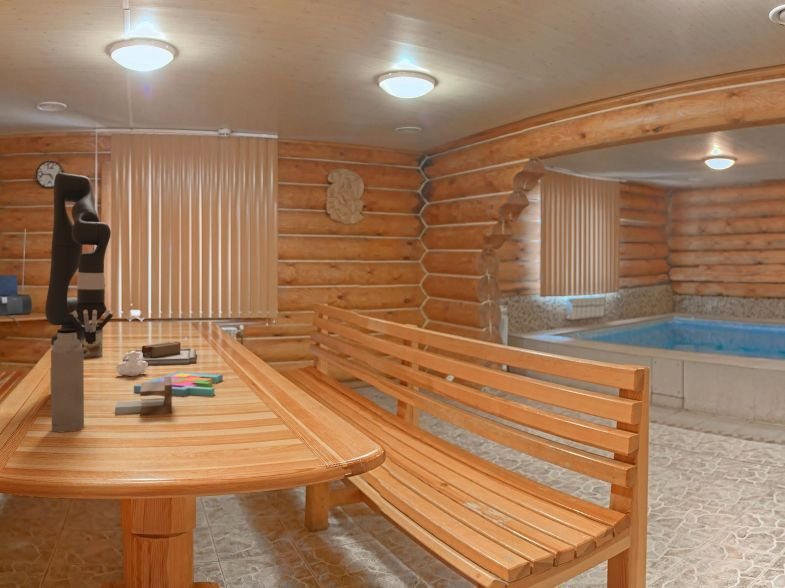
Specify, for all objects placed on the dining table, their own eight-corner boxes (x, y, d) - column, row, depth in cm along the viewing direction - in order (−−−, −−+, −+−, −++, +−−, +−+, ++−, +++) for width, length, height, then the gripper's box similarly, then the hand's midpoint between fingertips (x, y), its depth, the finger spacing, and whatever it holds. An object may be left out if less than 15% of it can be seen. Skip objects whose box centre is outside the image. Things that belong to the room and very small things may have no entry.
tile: (115, 415, 185) (115, 407, 185) (116, 409, 192) (116, 402, 192) (163, 412, 190) (163, 404, 190) (164, 407, 197) (164, 399, 196)
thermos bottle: (46, 428, 169) (45, 328, 167) (76, 422, 175) (75, 326, 173) (58, 434, 164) (57, 331, 162) (89, 428, 170) (88, 329, 168)
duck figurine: (116, 382, 239) (119, 362, 233) (113, 368, 244) (116, 348, 237) (148, 379, 246) (152, 360, 240) (144, 365, 250) (148, 346, 244)
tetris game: (133, 393, 214) (206, 399, 208) (133, 385, 214) (206, 391, 208) (177, 378, 241) (242, 383, 236) (177, 371, 241) (242, 375, 236)
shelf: (140, 415, 184) (140, 386, 183) (141, 405, 196) (141, 377, 195) (171, 413, 187) (171, 384, 187) (170, 403, 199) (170, 376, 199)
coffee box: (81, 357, 278) (81, 323, 277) (78, 355, 283) (78, 321, 282) (103, 356, 284) (102, 322, 283) (99, 354, 289) (99, 320, 288)
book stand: (130, 356, 290) (130, 340, 289) (195, 354, 299) (196, 339, 298) (122, 367, 261) (122, 350, 261) (195, 365, 270) (195, 348, 270)
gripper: (64, 287, 179) (64, 345, 180) (113, 288, 183) (113, 345, 184) (68, 286, 186) (68, 342, 187) (115, 287, 190) (115, 341, 191)
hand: (90, 343), depth 186 cm, fingers closed
